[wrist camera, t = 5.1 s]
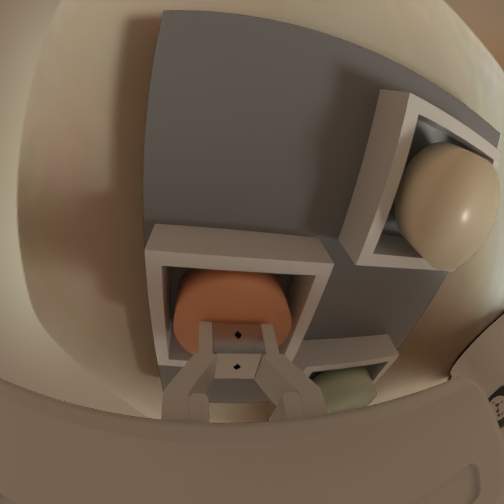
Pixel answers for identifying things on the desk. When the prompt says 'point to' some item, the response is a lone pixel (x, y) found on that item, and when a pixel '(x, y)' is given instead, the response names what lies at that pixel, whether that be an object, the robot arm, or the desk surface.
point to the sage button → (346, 388)
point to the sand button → (447, 203)
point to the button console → (290, 184)
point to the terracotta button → (229, 303)
